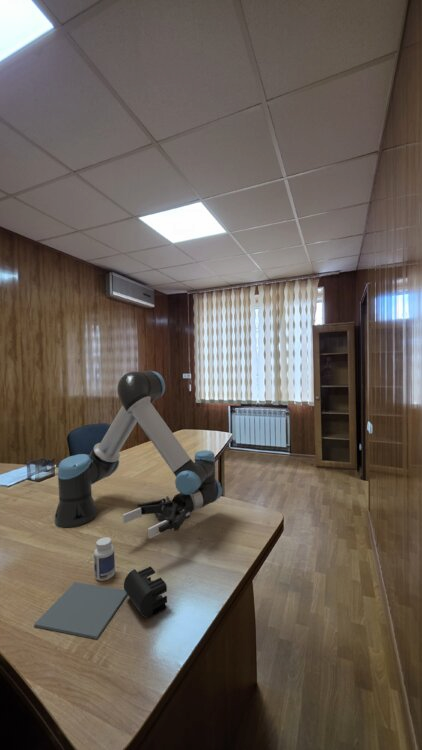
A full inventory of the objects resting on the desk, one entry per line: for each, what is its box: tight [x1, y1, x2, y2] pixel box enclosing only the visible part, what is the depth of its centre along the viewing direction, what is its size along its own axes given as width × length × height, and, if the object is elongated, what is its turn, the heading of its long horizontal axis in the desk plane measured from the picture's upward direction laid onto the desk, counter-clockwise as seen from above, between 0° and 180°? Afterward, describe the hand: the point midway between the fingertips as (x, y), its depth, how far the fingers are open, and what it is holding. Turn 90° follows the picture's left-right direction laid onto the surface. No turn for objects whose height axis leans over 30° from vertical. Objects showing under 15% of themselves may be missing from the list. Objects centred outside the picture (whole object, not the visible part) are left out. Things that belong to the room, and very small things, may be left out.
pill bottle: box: [93, 536, 116, 582], centre depth 87 cm, size 5×5×10 cm
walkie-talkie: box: [154, 495, 171, 523], centre depth 126 cm, size 9×4×20 cm
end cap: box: [123, 566, 168, 619], centre depth 76 cm, size 10×7×7 cm
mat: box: [33, 581, 128, 640], centre depth 75 cm, size 16×14×1 cm
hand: (135, 526), depth 94 cm, fingers open, 13 cm apart
